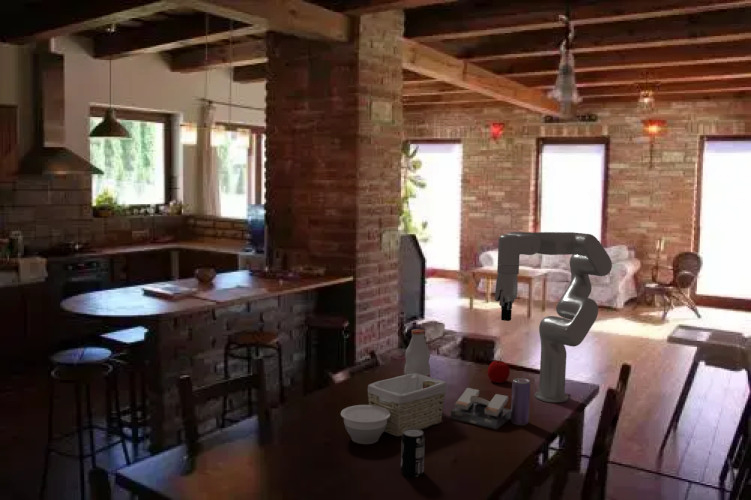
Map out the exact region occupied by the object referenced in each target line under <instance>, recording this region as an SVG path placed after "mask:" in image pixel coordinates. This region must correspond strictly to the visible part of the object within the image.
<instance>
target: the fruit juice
mask: <svg viewBox="0 0 751 500" xmlns="http://www.w3.org/2000/svg"><path fill="white" fill-rule="evenodd" d="M425 335H426V331H425V329H420V328H414V329H411V339H410V342H409V344H408V346H407V348H406V349H405V353H404V354H405V363H404V374H403V375H407V374H415V373H418V374H421V375H425V376H428V377H431V365H430V363H429V362H430V358H431V352H430V349H429V347H428V345H427V343H426V339H425ZM427 387H430V385H425V384H423V389H424V388H427Z"/></svg>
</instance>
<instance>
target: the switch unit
mask: <svg viewBox="0 0 751 500" xmlns="http://www.w3.org/2000/svg"><path fill="white" fill-rule="evenodd" d="M486 407H487V406H485V405H481V404H477V403H475V402H473V403H472V405H471V406H470V407H469V409H468V410H464V409H460V408H456V407H455V408H453V409H451V410H450V419H451V420H453V421H454V420H455V421H460V422H464V423H467V424H472V425H476V426H481V427H485V428H489V429H493V430H497V429H499V428H501V426H503V425H504V424H506V423H507V422H508V421H511V409H509V408H505V407H503V409H502V410H501V411H500V413H499V414H498V416H492V415H488V414H485V412H484V410H485V408H486Z"/></svg>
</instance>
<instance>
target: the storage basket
mask: <svg viewBox="0 0 751 500" xmlns="http://www.w3.org/2000/svg"><path fill="white" fill-rule="evenodd" d="M423 384H425V385H430V387H427V388H424V389H423ZM447 385H448V384H447V382H446V381H444V380H440V379H437V378H434V377H431V376H430V377H428V376H425V375H421V374H418V373H415V374H407V375H404V374H403V375H400V376H399V375H398V376H395V377H392V378H387V379H383V380H378V381H374V382H372V383H369V384H368V385H367V397H368V405H374V406H379V407H383V408H385V409H387V410H388V411H389V412H390V417H389V418H388V419H387V424H386V428H385V430H384V431H383V433H387V434H390V435H392V436H395V437H402V435H403V431H404V430H406V429H411V428H414V429H419V430H423V429H427V428H428V427H431V426H434V425H437V424H440V423H442V418H443V417H442V416H443V412H444V411H443V410H444V404H445V399H446V398H445V396H446V393H447Z"/></svg>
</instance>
